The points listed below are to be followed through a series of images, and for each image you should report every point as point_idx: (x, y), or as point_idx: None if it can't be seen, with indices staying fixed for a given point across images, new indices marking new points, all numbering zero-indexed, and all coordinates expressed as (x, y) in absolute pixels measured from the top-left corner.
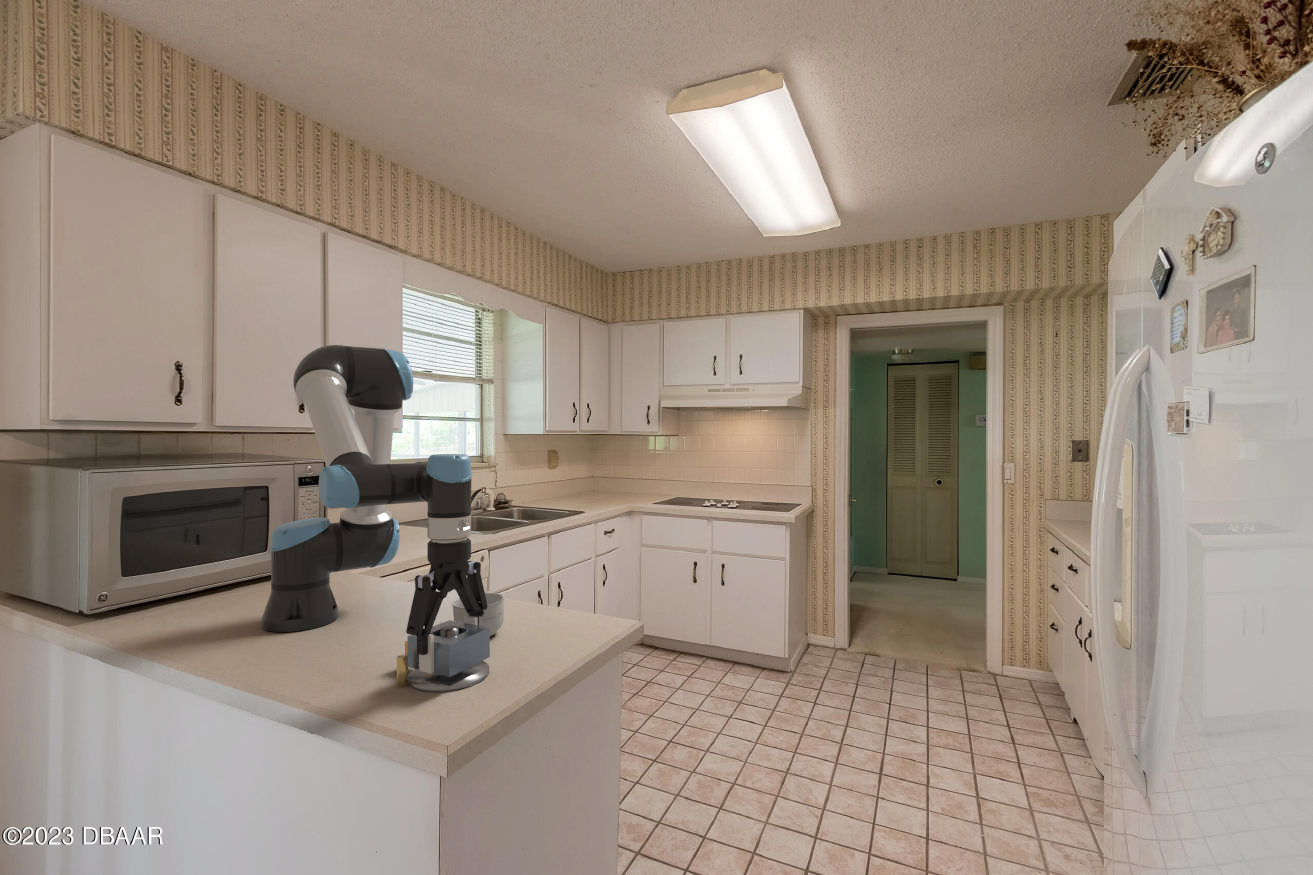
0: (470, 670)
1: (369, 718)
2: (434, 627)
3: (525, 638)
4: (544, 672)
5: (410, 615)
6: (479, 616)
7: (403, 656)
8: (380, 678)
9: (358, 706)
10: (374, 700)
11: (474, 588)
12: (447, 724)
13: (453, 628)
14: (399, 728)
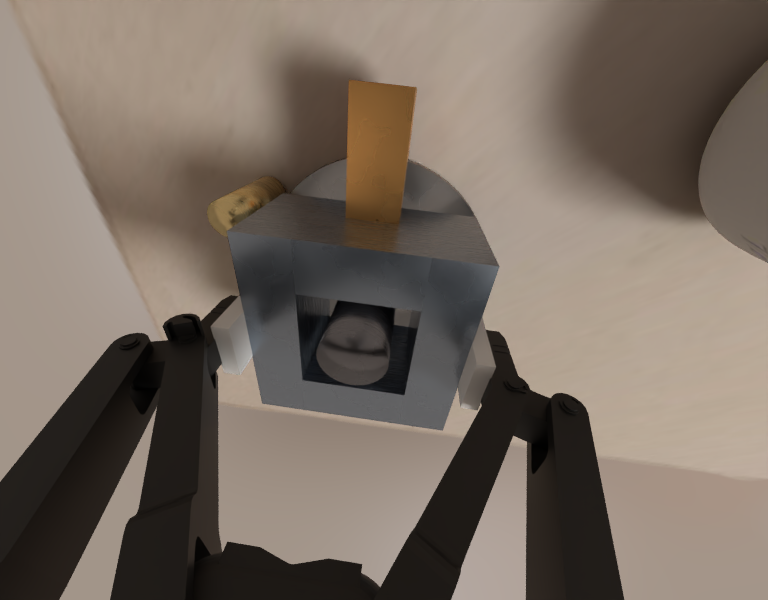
0: (403, 313)
1: (132, 247)
2: (375, 266)
3: (700, 315)
4: (456, 419)
5: (70, 404)
6: (762, 235)
7: (230, 220)
8: (262, 71)
9: (132, 176)
10: (175, 190)
11: (542, 545)
12: (221, 373)
13: (357, 371)
14: (160, 321)
